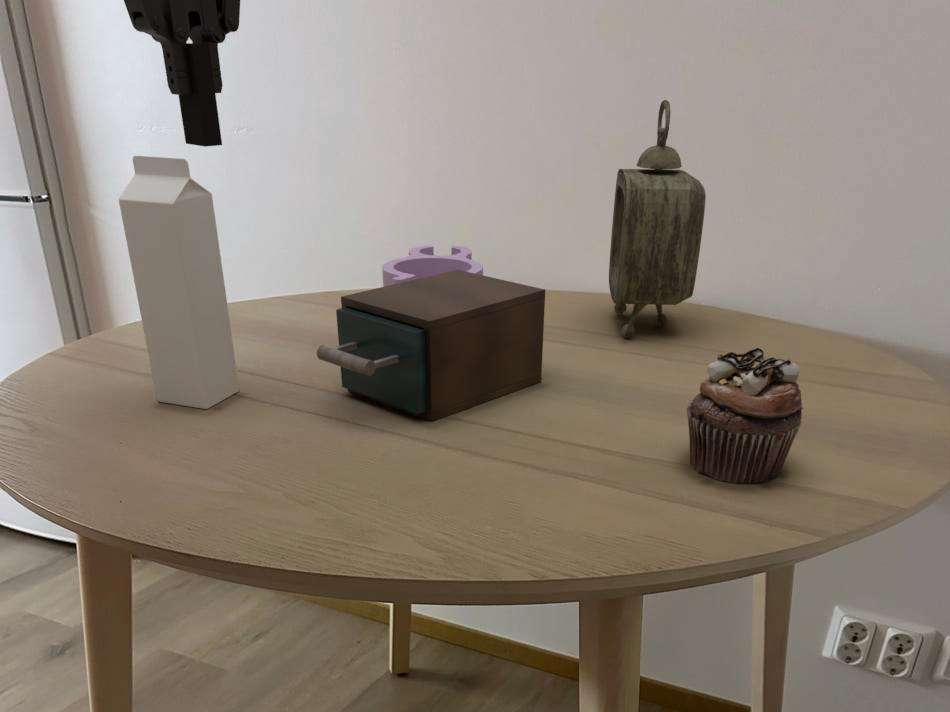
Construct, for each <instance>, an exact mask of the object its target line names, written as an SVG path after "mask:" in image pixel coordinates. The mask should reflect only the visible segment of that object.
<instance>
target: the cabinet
mask: <svg viewBox="0 0 950 712" xmlns="http://www.w3.org/2000/svg"><path fill="white" fill-rule="evenodd" d="M340 305H341V308H345V307H346V308H349V309H353V310H356V311H360V310H362V311H365V312H369V313H372V314H376V315H379V316H383V317H386V318H390V319H393V320H397V321H400V322H404V323H407V324H411V325H415V326H418V327H422V328H425V329H424V330H425V354H426V393H427V412H424V413H421V414H416V413H413V412H410V411H408V410H405V409H402V408H399V407H397V406H394V405H391V404H388V403H385V402H383V401H380V400H377V399H374V398H372V397H369V396H366V395H363V394H361V393H358V392H355V391H352V390H349V389H347V391H348V392H349V393H351V394H354V395H358V396H359V397H360V396H361V397H362V398H365V399H369V400H371V401H374V402H377V403H379V404H382V405H384V406H388V407H390V408H393V409H396V410H398V411H401V412H404V413H407V414H410V415H412V416H416V417H418V418H421V419H423V420H426V421H429V422H436V421H438V420H440V419H443V418H446V417H449V416H451V415H455V414H457V413H459V412H463V411H465V410H468V409H470V408H473V407H476V406H479V405H481V404H483V403H487V402H489V401H492V400H495V399H497V398H500V397H503V396H505V395H508V394H511V393H514V392H516V391H519V390H522V389H525V388H527V387H530V386H533V385H536V384H538V383H542V373H543V371H542V370H543V353H544V351H543V348H544V332H545V331H544V327H545V325H544V324H545V306H546V289H544V288H541V287H536V286H532V285H526V284H523V283H519V282H515V281H510V280H504V279H500V278H497V277H492V276H487V275H484V274H483V275H479V274H474V273H470V272H465V271H461V270H454V271H450V272H445V273H441V274H437V275H432V276H428V277H424V278H420V279H415V280H411V281H407V282H402V283H398V284H394V285H389V286H385V287H383V286H381V287H375V288H373V289H367V290H363V291H359V292H355V293H350V294H347V295H342V296H340Z"/></svg>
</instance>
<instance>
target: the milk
mask: <svg viewBox="0 0 950 712" xmlns="http://www.w3.org/2000/svg"><path fill="white" fill-rule="evenodd" d="M132 165H133V171H134V175H133V176H132V178H131V179H130V181H129V183H128V184H127V186H126V187H125V188H124V190H123V191H122V192H121V195H120V196H119V198H118V205H119V210H120V214H121V215H120V216H121V219H122V225H123V230H124V235H125V241H126V245H127V250H128V255H129V262H130V266H131V272H132V276H133V282H134V286H135V292H136V297H137V302H138V307H139V312H140V318H141V322H142V329H143V334H144V338H145V343H146V349H147V355H148V359H149V364H150V365H149V366H150V370H151V373H152V374H151V376H152V380H153V386H154V390H155V396H156V400H157V402H158V403H163V404H164V403H165V404H170V405H175V406H176V405H177V406H182V407H189V408H195V409H202V410H208V409H210V408H212V407H213V406H216V405H217V404H219V403H221V402H222V401H224V400H226V399H228V398H230V397H231V396H233V395H235V394H237V393H238V392H240V386H239V385H240V384H239V378H238V371H237V370H238V369H237V363H236V356H235V348H234V342H233V341H234V340H233V336H232V335H233V334H232V329H231V327H232V326H231V320H230V315H229V314H230V313H229V307H228V298H227V293H226V292H227V291H226V285H225V278H224V271H223V264H222V257H221V249H220V243H219V242H220V241H219V235H218V228H217V222H216V221H217V220H216V214H215V206H214V200H213V194H212V193H211V191H209V190H207V189H206V188H205V187H204V186H202V185H201V184H199V183H198V182H196V181H195V180H194V179H192V178H191V173H190V167H189V162H188V160H187V159H186V158H179V157H178V158H177V157H164V156H163V157H162V156H148V155H133V157H132Z"/></svg>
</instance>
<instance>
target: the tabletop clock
mask: <svg viewBox="0 0 950 712" xmlns="http://www.w3.org/2000/svg"><path fill="white" fill-rule="evenodd" d="M663 116H664V120H665V123H664V127H662V126H663V125H662V124H663ZM670 121H671V104H670V102H669V101H668V99H663V101H661V103H660V105H659V109H658V117H657V131H656V134H657V135H656V136H657V138H656V145H652V146H649V147H647V148H646V149H645V150H644V151H643V152H642V153H641V155H640V156H639V157H638V160H637V163H636V165H635V166H636V167H639V168H618V170H617V174H616V182H615V190H614V191H615V192H614V201H613V211H612V212H613V213H612V224H611V225H612V226H611V235H610V236H611V237H610V249H609V263H608V265H609V266H608V287H609V292H610V296H611V300H612V303H613V304H614V306H613V307H614V308H613V310H614V312H615V313H616V314H617V315H624V314H625V312H626V311H627V305H633V310H632V313H631V315H630V319H629V322H628V323H626V324H624V325H623V326H622V327H621V330H620V333H621V335H622V337H624V338H626V339H627V338H631V337H633V335H634V334H635V332H636V331H635V327H634V323H636V320H637V318H638V316H639V314H640V313H641V311H642V310H643V309H644V308H646V307H647V306H648V305H654V306H655V309H656V312H657V315H656V316H655V318H654V324H655V325H656V327H657V328H663V327H665V326H667V323H668V317H667V316H666V314H664V313H663V306H676V305H678V304H680V303H682V302H685V301H686V300H688V299H689V298H690V299H691V298H692V296H693V294H694V290H695V284H696V278H697V272H698V266H699V259H700V252H701V244H702V237H703V229H704V228H703V227H704V219H705V210H706V197H707V196H706V189H705V187H704V185H703V184H702V183H701V181H700V180H699V179H697V178H695V176H692V174H690V173H688V172H686V170H683V169H680V168H682V160H681V157H680V154H679V152H678V151H677V150H676V149H675V148H673V147H672V146H669V145H667V140H668V137H669V130H670V123H671V122H670Z"/></svg>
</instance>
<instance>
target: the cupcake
mask: <svg viewBox="0 0 950 712" xmlns="http://www.w3.org/2000/svg"><path fill="white" fill-rule="evenodd" d="M764 356H765V352H764V350H763V349H761V348H759V347H757V348H753V349H750V350H748V351H746V352H745V353H741V354H739V353H738V354H737V353H735V352H733V351H731V352H727V353H726V354H718V356H717V360H715V361H713V362H711V363H710V364H708V365H707V366H706V367H707V374H708V377H707V378H705V379H703V380H701V382H700V386H699V393H698V394H697V395H696V396H694V398H693V399H692V401H691V402H689V403H688V405H687V407H686V416H687V423H688V435H689V436H688V437H689V465H690V466H692V469H693V470H696V472H697V473H699V474H702V475H705V476H708V477H710V478H712V479H714V480H717V481H720V482H721V481H722V482H727V483H732V484H741V485H742V484H743V485H744V484H747V485H750V484H762V483H765V482H768V481H770V480H773V479H776V478H778V477H779V475H780V474H781V471H782V469H783V466H784V464H785V462H786V459H787V457H788V455H789V452H790V450H791V448H792V445H793V443H794V440H795V439H796V437H797V435H798V432H799V430H800V428H801V426H802V423H803V421H802V414H803V413H802V410H804V406H803V403H802V391H801V389H800V388H799V386H800V385H799V384H798V383H797V382H798V379H799V375H800V368H799V365H798V364H797V363H794V362H791V360H790V359H789V358H787V359H786V360H784V359H783V358H775V357H770V358H766V359H765V357H764ZM738 358H740V359H738Z"/></svg>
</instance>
